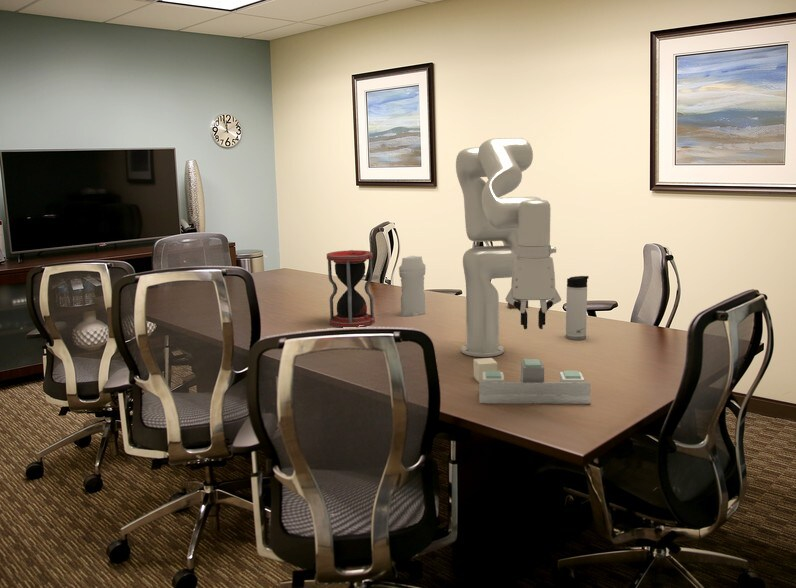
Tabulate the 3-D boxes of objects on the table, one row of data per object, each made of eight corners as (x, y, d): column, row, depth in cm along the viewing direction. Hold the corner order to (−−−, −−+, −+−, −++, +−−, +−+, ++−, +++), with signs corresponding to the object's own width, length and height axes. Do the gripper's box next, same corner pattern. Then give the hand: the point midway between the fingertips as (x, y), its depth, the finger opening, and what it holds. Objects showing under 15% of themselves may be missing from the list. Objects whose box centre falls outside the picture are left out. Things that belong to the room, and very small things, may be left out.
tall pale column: (402, 317, 265) (401, 257, 261) (398, 315, 269) (396, 256, 265) (428, 314, 269) (427, 255, 265) (423, 312, 273) (422, 253, 269)
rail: (479, 400, 176) (479, 380, 175) (588, 400, 174) (589, 380, 173) (479, 403, 174) (479, 383, 173) (590, 403, 172) (590, 383, 171)
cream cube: (473, 377, 195) (473, 359, 194) (491, 375, 196) (491, 357, 195) (478, 382, 190) (478, 364, 189) (497, 381, 191) (497, 362, 190)
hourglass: (373, 327, 251) (371, 255, 246) (327, 328, 252) (323, 257, 247) (376, 317, 267) (373, 249, 262) (332, 318, 267) (329, 250, 262)
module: (520, 390, 183) (521, 357, 181) (541, 390, 182) (541, 358, 181) (522, 400, 176) (523, 366, 174) (543, 400, 176) (544, 366, 174)
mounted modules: (482, 391, 183) (482, 369, 182) (579, 391, 181) (580, 369, 180) (483, 399, 177) (483, 377, 176) (583, 399, 175) (584, 377, 174)
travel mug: (583, 341, 227) (584, 278, 223) (562, 338, 230) (564, 276, 226) (589, 336, 232) (591, 274, 228) (569, 334, 235) (571, 273, 232)
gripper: (566, 249, 175) (565, 324, 179) (497, 250, 177) (497, 324, 180) (571, 254, 168) (569, 331, 171) (499, 255, 169) (499, 331, 173)
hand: (532, 327), depth 176 cm, fingers open, 3 cm apart
